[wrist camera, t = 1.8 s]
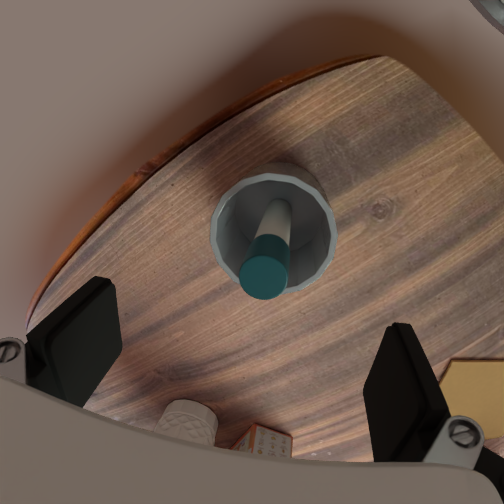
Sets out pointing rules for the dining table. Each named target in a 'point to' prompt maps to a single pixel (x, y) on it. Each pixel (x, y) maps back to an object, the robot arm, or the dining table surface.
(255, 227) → the pen pot
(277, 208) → the marker
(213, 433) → the white cup
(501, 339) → the dining table surface
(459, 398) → the cork mat
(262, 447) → the cracker box
